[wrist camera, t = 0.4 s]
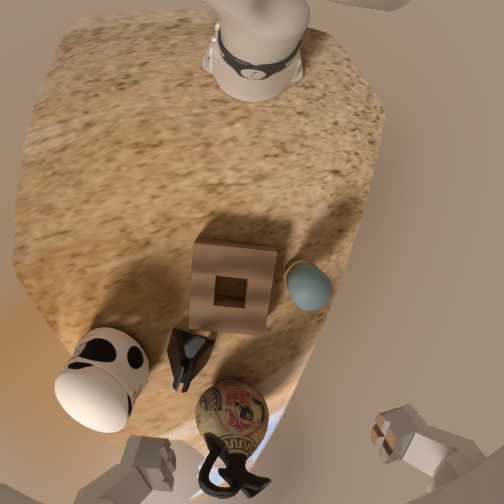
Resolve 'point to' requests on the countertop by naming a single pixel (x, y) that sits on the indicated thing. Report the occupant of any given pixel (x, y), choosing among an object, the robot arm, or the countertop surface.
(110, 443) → the countertop surface
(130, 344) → the milk container
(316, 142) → the countertop surface
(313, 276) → the leg
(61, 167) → the countertop surface
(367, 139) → the countertop surface
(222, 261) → the board
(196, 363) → the phone stand
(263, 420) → the ceramic jug
